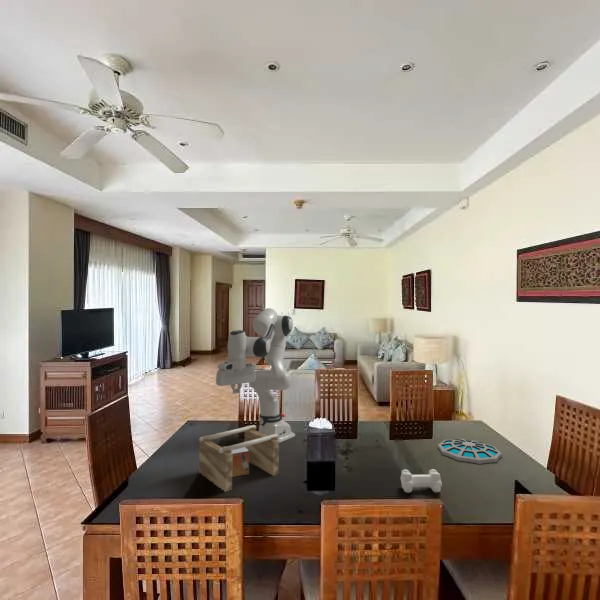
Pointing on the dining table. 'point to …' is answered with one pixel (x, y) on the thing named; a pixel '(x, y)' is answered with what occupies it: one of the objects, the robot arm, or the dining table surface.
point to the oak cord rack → (220, 464)
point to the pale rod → (226, 433)
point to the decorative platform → (469, 451)
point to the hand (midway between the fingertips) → (236, 393)
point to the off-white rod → (247, 443)
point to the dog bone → (421, 481)
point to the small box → (240, 462)
